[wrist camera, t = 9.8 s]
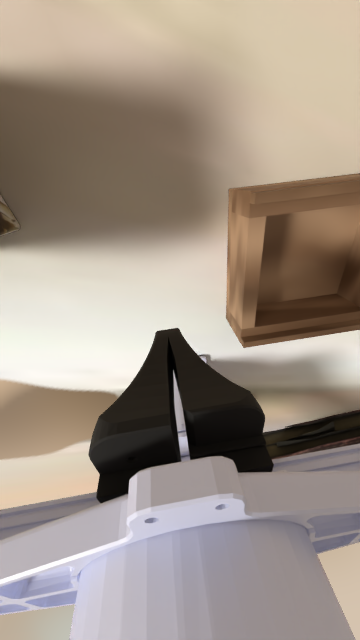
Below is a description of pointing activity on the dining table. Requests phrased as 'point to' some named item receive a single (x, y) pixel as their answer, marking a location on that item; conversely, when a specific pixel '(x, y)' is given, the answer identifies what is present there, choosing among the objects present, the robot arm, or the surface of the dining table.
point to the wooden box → (294, 259)
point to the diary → (314, 435)
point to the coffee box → (7, 219)
